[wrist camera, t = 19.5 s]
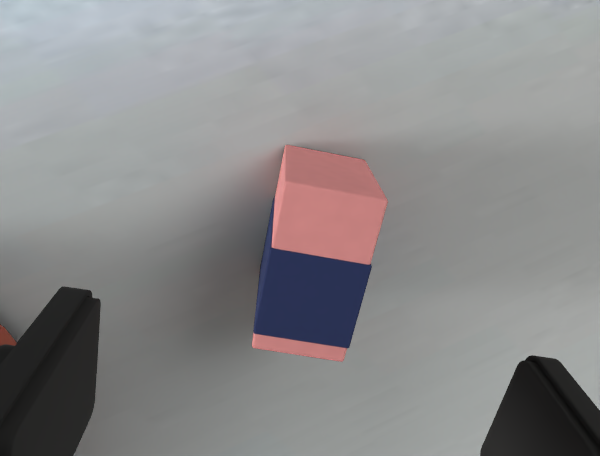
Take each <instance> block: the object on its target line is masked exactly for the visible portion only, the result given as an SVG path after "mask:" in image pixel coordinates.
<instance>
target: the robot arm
mask: <svg viewBox="0 0 600 456" xmlns="http://www.w3.org/2000/svg"><path fill="white" fill-rule="evenodd" d="M100 306H101V302H100V299H97V298H92V292H91V291H90V290H84V289H77V288H70V287H61V288H60V289H59V290H58V291H57V293H56V294H55V295H54V296H53V298H52V299H51V300H50V302H49V303H48V304H47V305H46V307H45V308H44V309H43V310H42V312H41V313H40V314H39V316H38V317H37V318H36V319H35V321H34V322H33V323H32V324H31V326H30V327H29V328H28V330H27V331H26V332H25V333H24V335H23V336H22V337H21V338H20V340H19V341H18V342H17V344H16V345H15V346H14V345H7V344H4V345H1V346H0V456H73V455H74V453H75V450H76V448H77V446H78V444H79V442H80V440H81V437H82V435H83V433H84V431H85V429H86V426H87V424H88V422H89V420H90V418H91V415H92V412H93V408H94V403H95V390H96V373H97V356H98V340H99V323H100ZM480 456H600V410H599V409H598V408H597V407H596V406H595V404H594V403H593V402H592V401H591V399H590V398H589V397H588V396H587V394H586V393H585V392H584V391H583V390H582V388H581V387H580V386H579V385H578V383H577V382H576V381H575V380H574V378H573V377H572V376H571V375H570V373H569V372H568V371H567V370H566V369H565V367H564V366H563V365H562V364H561V362H559V361H558V360H557V359H553V358H546V357H539V356H529V357H528V358H526V360H525V361H521V362H520V363H519V364H518V366H517V368H516V370H515V372H514V375H513V377H512V379H511V382H510V384H509V386H508V388H507V391H506V393H505V395H504V398H503V400H502V402H501V404H500V407H499V409H498V411H497V413H496V416H495V418H494V420H493V423H492V425H491V427H490V429H489V432H488V434H487V436H486V439H485V441H484V443H483V445H482V448H481V453H480Z"/></svg>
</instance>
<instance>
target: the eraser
mask: <svg viewBox="0 0 600 456" xmlns="http://www.w3.org/2000/svg"><path fill="white" fill-rule="evenodd" d="M387 203H388V201H387V198H386V197H385V195H384V193H383V191H382V190H381V188H380V186H379V184H378V183H377V181H376V179H375V177H374V176H373V174H372V172H371V170H370V168H369V167H368V165H367V163H366V161H365V160H363V159H358V158H353V157H347V156H342V155H337V154H332V153H327V152H322V151H316V150H311V149H306V148H301V147H296V146H291V145H285V148H284V153H283V159H282V164H281V169H280V174H279V179H278V185H277V190H276V195H275V198H274V199H273V204H272V209H271V214H270V219H269V225H268V230H267V235H266V240H265V245H264V251H263V256H262V261H261V266H260V275H259V285H258V294H257V303H256V312H255V321H254V330H253V341H252V347H253V348H257V349H263V350H270V351H276V352H283V353H289V354H296V355H302V356H308V357H315V358H321V359H328V360H334V361H341V362H342V361H343V360H344V357H345V354H346V350H347V348H349V346H350V343H351V339H352V335H353V332H354V328H355V325H356V321H357V318H358V314H359V310H360V307H361V303H362V300H363V296H364V293H365V289H366V285H367V282H368V278H369V275H370V271H371V268H372V266H371V260H372V257H373V253H374V249H375V246H376V242H377V239H378V235H379V231H380V228H381V224H382V221H383V217H384V213H385V210H386V206H387Z"/></svg>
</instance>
